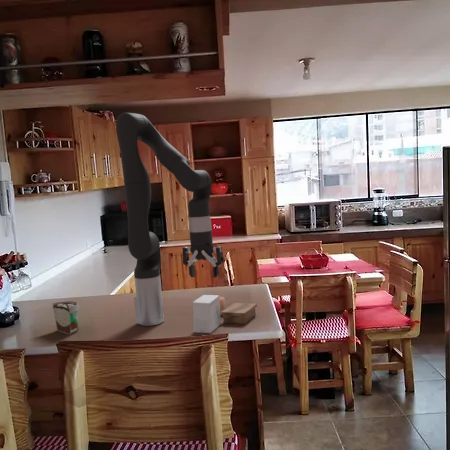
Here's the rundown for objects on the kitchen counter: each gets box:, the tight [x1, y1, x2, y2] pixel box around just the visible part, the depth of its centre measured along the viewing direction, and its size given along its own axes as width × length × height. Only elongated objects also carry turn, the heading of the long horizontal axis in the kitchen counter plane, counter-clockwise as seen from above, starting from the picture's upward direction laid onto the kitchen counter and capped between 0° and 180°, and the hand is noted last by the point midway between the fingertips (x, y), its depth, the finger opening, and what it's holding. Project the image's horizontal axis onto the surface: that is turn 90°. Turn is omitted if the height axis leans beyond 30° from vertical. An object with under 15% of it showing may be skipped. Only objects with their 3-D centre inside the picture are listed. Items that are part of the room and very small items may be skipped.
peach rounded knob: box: [219, 296, 226, 317], centre depth 182 cm, size 5×5×6 cm
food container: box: [52, 300, 80, 336], centre depth 175 cm, size 12×6×10 cm, turn 48°
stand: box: [221, 302, 258, 325], centre depth 175 cm, size 9×12×4 cm
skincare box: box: [191, 294, 222, 334], centre depth 166 cm, size 10×6×10 cm, turn 161°
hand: (204, 277), depth 165 cm, fingers open, 8 cm apart
